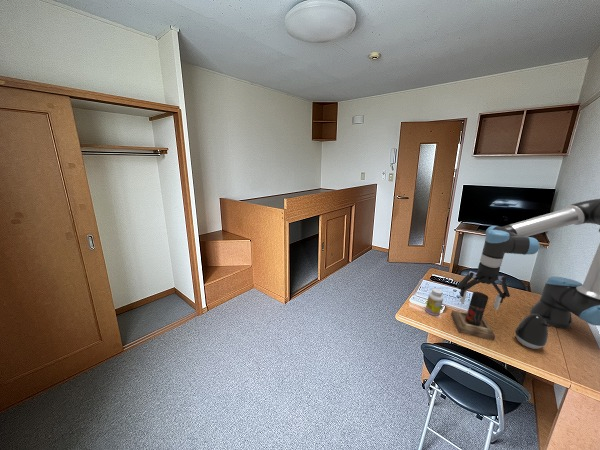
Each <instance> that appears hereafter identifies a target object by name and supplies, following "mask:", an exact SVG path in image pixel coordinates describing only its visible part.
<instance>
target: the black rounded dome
mask: <svg viewBox="0 0 600 450" xmlns="http://www.w3.org/2000/svg"><path fill="white" fill-rule="evenodd" d="M549 327H551V325H549V324H547V323H546V320H545V319H544V318H543V317H542V316H541V315H538V314H531V313H530V314H528V315H527V316H525V317H524V318H523V319H522V320H521V321H520V322H519V324H518V325H517V326H516V328H515V331H514V332H515V337H516V339H517V341H518V342H519V343H520V344H521V345H523V346H525V347H527V348H528V349H529V348H530V349H533V350H539V349H542V348H544V347H545V346H546V345H547V343H548V337H549V329H548V328H549Z"/></svg>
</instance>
